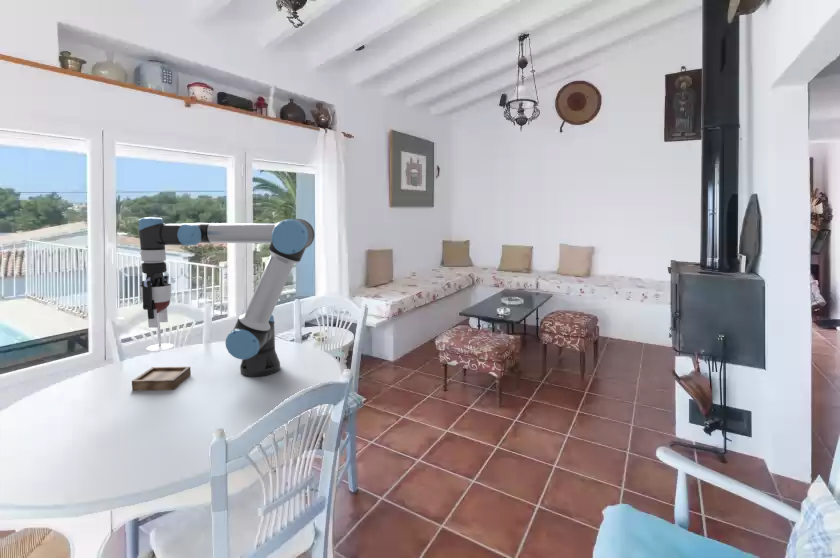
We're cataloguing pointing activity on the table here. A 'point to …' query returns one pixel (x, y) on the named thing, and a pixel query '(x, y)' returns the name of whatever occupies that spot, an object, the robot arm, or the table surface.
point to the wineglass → (161, 302)
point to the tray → (161, 378)
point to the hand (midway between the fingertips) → (158, 324)
